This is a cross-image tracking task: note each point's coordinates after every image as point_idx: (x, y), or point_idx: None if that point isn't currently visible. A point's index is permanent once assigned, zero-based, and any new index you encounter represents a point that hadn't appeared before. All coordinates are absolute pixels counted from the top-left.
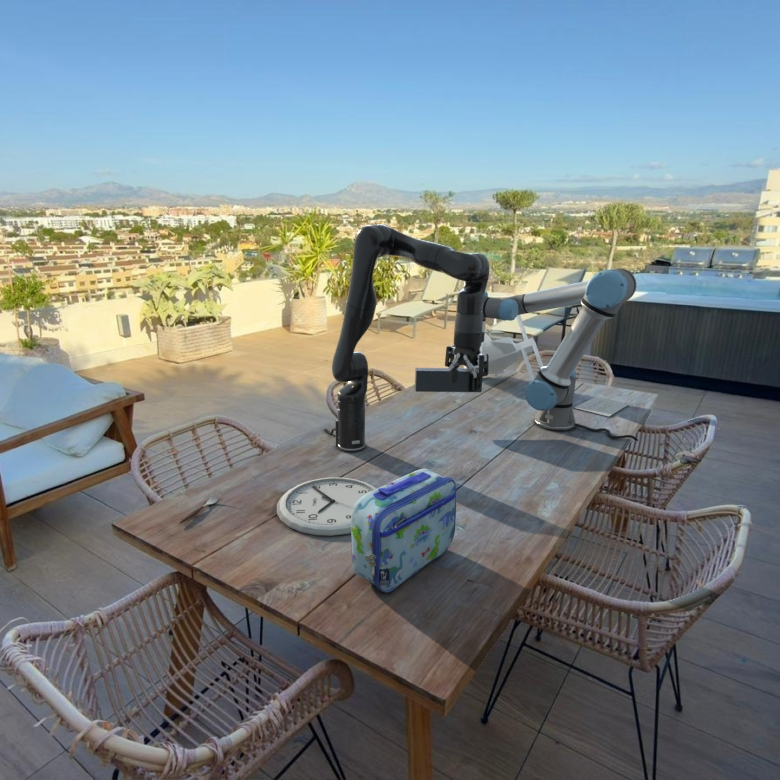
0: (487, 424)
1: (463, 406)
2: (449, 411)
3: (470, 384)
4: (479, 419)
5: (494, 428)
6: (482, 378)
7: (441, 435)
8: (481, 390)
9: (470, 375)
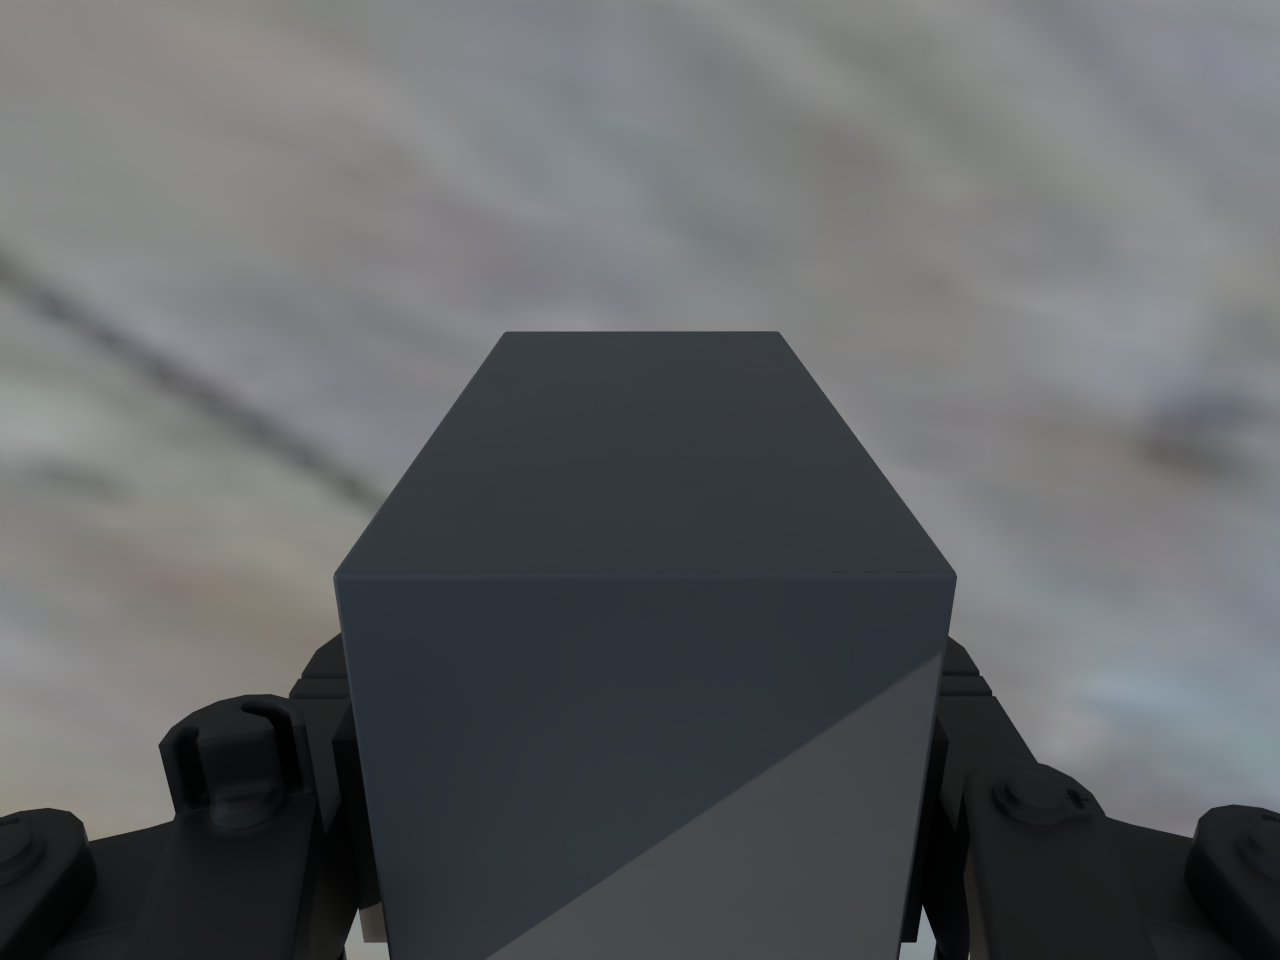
0: (991, 188)
1: (253, 388)
2: None
3: None
4: (785, 263)
5: (1159, 118)
6: (860, 445)
7: (1222, 762)
8: (784, 342)
9: (919, 920)
